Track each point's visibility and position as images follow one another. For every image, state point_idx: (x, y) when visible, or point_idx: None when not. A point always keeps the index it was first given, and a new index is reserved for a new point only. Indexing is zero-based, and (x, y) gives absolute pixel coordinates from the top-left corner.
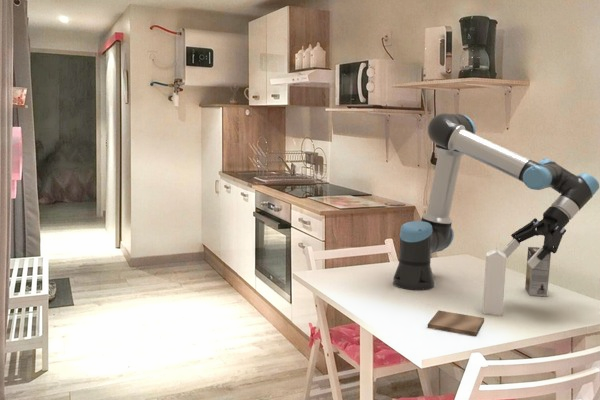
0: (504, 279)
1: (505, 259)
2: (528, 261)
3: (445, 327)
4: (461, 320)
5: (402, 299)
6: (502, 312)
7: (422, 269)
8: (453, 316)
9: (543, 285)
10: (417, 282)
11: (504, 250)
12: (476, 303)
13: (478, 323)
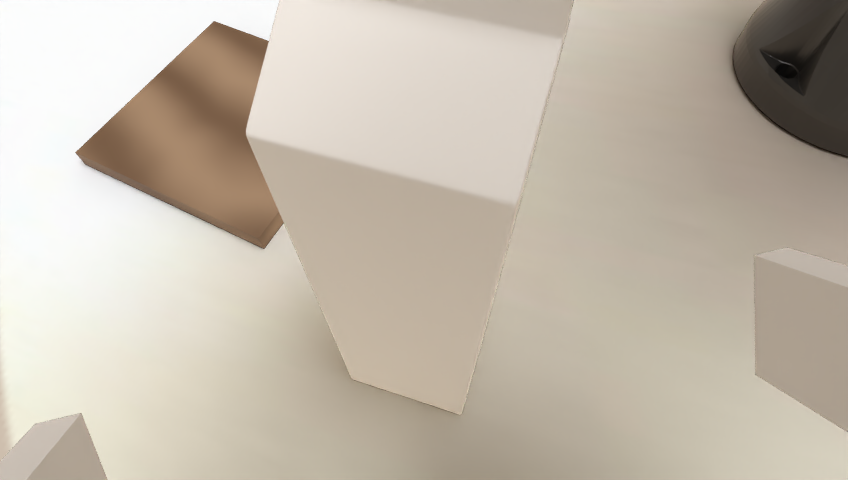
0: (309, 275)
1: (252, 139)
2: (45, 436)
3: (168, 67)
4: (233, 133)
5: None
6: (349, 373)
7: (844, 6)
8: None
9: None
10: (761, 45)
11: (812, 271)
12: (577, 301)
13: (181, 190)
